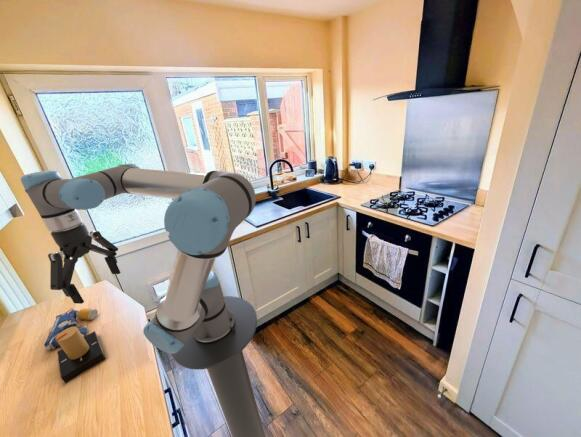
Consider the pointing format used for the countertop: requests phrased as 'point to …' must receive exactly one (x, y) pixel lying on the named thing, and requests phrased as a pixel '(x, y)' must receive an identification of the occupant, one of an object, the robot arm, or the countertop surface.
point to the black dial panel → (81, 359)
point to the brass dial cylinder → (72, 342)
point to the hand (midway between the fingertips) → (99, 286)
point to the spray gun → (68, 324)
